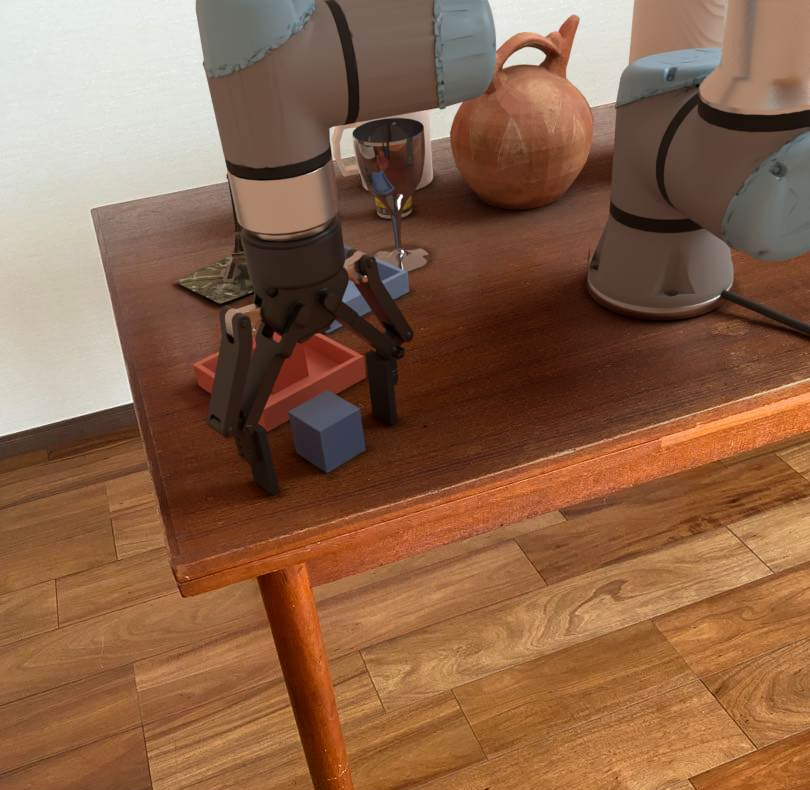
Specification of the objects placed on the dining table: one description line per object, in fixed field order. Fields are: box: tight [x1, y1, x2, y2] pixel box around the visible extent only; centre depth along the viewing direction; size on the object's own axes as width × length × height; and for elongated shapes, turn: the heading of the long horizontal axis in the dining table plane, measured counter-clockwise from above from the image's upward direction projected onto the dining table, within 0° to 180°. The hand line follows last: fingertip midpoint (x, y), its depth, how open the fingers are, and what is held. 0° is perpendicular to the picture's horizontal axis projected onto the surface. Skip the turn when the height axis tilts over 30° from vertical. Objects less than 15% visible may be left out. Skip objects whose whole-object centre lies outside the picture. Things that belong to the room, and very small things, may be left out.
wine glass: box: [351, 118, 430, 272], centre depth 102 cm, size 8×8×15 cm
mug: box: [331, 110, 434, 192], centre depth 122 cm, size 14×10×11 cm
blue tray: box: [323, 244, 410, 335], centre depth 101 cm, size 12×12×2 cm
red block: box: [251, 329, 309, 394], centre depth 87 cm, size 4×4×4 cm
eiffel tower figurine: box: [174, 172, 254, 304], centre depth 103 cm, size 15×10×13 cm
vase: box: [628, 0, 725, 65], centre depth 112 cm, size 14×14×32 cm
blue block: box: [288, 390, 367, 474], centre depth 78 cm, size 4×4×4 cm
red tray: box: [192, 333, 367, 433], centre depth 88 cm, size 12×12×2 cm
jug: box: [449, 14, 595, 211], centre depth 113 cm, size 18×18×20 cm
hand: (328, 451), depth 80 cm, fingers open, 13 cm apart
